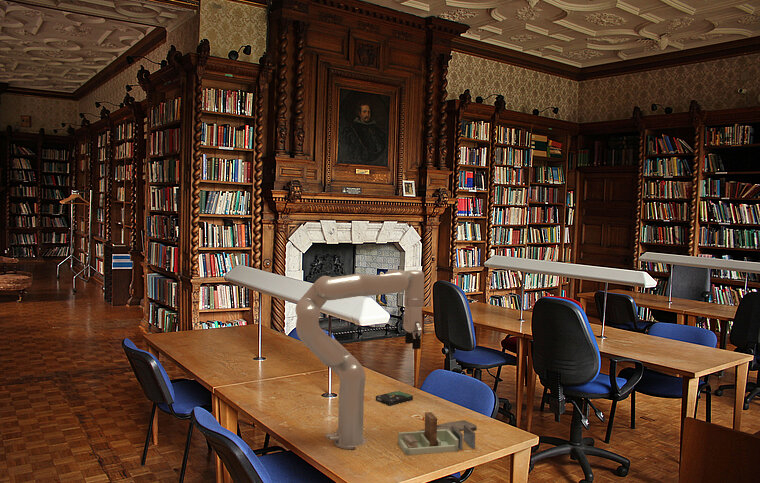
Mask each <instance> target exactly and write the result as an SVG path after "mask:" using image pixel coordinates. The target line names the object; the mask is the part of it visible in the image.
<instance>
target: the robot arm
mask: <svg viewBox="0 0 760 483" xmlns="http://www.w3.org/2000/svg"><path fill="white" fill-rule="evenodd" d="M424 289H425V273H424V271H422V270H417V269H412V270H411V269H410V270H403V269H402V270H400V269H389V270H388V271H386V272H385V273H384V274H365V273H353V274H347V275H346V274H345V275H339V276H333V277H332V276H328V275H323V276H320V277H319V278H317V279H316V280H315V282H313V284H312V285H311V286H310V287H309V289H308V290H306V292H305V293H304V294H303V295H302V296H301V298H300V299H298V302H297V303H296V305H295V314H296V321H295V328H296V334H297V337H298V339H299V340H300V341H301V343H303V344H304V345H305V346H306V347H307V348H308V350H310V352H311V353H312V354H313V355H314V356H315V357H317V359H319V361H320V362H321V363H322V364H323V365H325V366H326V367H328V368H330V370H332V371H333V372H334V373H335V374H336V375H337V377H338V379H339V388H338V390H339V391H338V419H337V421H338V422H337V423H338V427H337V428H338V429H336V431H335V432H332V433H331V432H330V433H329V432H328V433H325V439H326V440H327V439H328V440H329V439H330V440H329V441H333V444H334V445H335V446H336V447H337V448H341V449H345V450H356V449H357V448H356V447H359V446H363V445H365V444H366V443H367V442H368V439H367V438H366V436H364V415H365V414H364V410H365V408H364V407H365V405H364V400H365V385H366V371H365V368H364V367H363V366H362V364H361V363H360V362H359V360H357V358H356V357H355V356H354V355H352V354H351V353H350V352H349V351H348V349H346V348H345V347H344V346H343V345H342V344H341V343H340V342H339V341H338V340H336V338H334V337H330V336H329V335H328V334H327V333H326V332H325V331H324V329H322V328H321V327H320V323H319V321H320V317H321V308H322V307H323V306H324V305H325V304H326V303H327V302H328V301H337V300H342V299H343V300H344V299H350V298H356V297H369V296H381V295H390V294H397V293H401V292H404V293H403V295H404V296H403V298H404V299H403V306H404V313H403V324H402V325H403V326H402V327H403V329H404V330H405V331H404V332H405V334H404V335H405V336H404V337H405V338H404V343H405V344H407V345H408V344H411V346H412V347H411V348H412V350H421V347H422V330H423V310H422V309H423V307H424V303H425V302H424V301H425V300H424V298H425V295H424V294H425V290H424Z"/></svg>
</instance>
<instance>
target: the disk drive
mask: <svg viewBox="0 0 760 483" xmlns="http://www.w3.org/2000/svg"><path fill="white" fill-rule="evenodd" d="M375 401H376V402H378V403H380V402H381V404H383V405H385V404H386V405H385V406H388V407H391V406H395V405H400V404H403V402H404V403H407V401H408V402H411V401H414V395H412V394H410V393H407V392H402V391H400V390H397V391H396V390H395V391H392V392H387V393H384V394H379V395H376V396H375ZM399 403H400V404H399Z"/></svg>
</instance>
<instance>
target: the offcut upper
mask: <svg viewBox="0 0 760 483" xmlns="http://www.w3.org/2000/svg"><path fill="white" fill-rule="evenodd" d="M404 440H405V441H406V442H407V443H408V444H409V445H410V446H416V445H417V443H418V441H417V440H416V439H415V438H414V437H413V436H412V435H406V436H405V438H404Z"/></svg>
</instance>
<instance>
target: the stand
mask: <svg viewBox="0 0 760 483" xmlns="http://www.w3.org/2000/svg"><path fill="white" fill-rule="evenodd" d="M451 433H452V434H453V435H454V436H455V437H456V438H457V439H458V440H459V441H458V451H462V450H463V443H464V442H465V443H466V444H467V445H468V446H469V447H470V448H471V449H472V450H475V449H476V432H475V431H472V430H471V429H470V428H469V427H468V426H467V425H464V431H463V433H462V431H459V430H458V429H457V428H456V427H455V426H452V431H451ZM463 441H464V442H463Z"/></svg>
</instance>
